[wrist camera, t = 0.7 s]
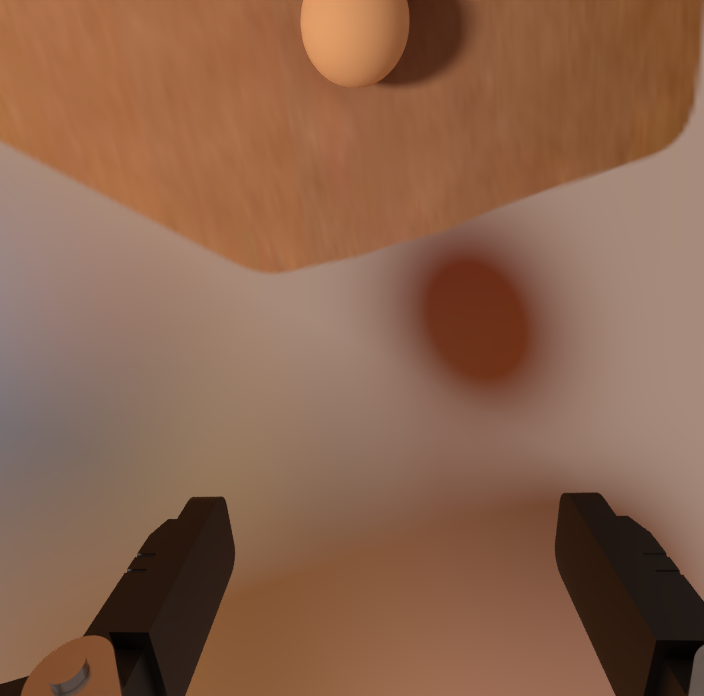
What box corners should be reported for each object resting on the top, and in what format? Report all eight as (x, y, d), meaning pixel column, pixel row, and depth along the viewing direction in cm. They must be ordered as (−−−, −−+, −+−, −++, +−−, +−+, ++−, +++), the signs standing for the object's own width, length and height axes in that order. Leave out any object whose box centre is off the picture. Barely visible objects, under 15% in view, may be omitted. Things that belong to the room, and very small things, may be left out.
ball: (290, 66, 26) (282, 58, 21) (321, -50, 23) (320, -90, 19) (379, 104, 27) (390, 105, 22) (416, -3, 25) (439, -29, 20)
